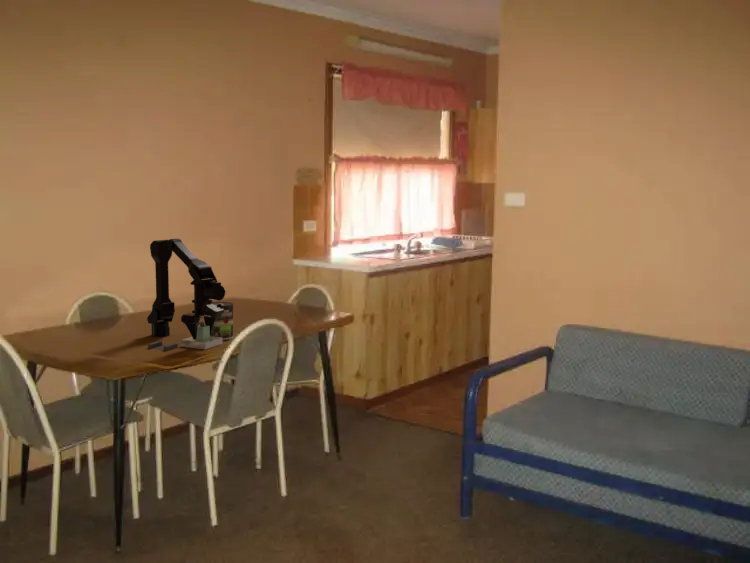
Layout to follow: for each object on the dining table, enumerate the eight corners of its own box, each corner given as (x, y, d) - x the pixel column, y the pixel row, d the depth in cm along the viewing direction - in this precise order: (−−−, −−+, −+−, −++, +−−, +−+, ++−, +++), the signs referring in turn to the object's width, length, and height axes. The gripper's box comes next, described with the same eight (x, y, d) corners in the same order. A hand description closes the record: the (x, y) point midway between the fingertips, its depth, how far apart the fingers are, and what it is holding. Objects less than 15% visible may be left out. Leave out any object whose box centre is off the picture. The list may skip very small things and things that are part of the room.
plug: (194, 346, 314) (194, 322, 313) (201, 344, 318) (201, 320, 316) (203, 348, 312) (203, 323, 311) (209, 346, 316) (209, 322, 314)
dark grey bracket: (148, 350, 308) (148, 344, 308) (158, 347, 314) (158, 341, 313) (167, 353, 305) (167, 346, 304) (177, 350, 310) (177, 343, 310)
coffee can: (237, 338, 332) (237, 304, 330) (214, 341, 326) (214, 306, 324) (226, 333, 340) (226, 300, 338) (203, 336, 334) (203, 302, 332)
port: (181, 348, 312) (181, 339, 312) (199, 343, 322) (199, 334, 322) (205, 352, 308) (205, 343, 307) (222, 346, 318) (222, 337, 317)
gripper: (204, 302, 300) (204, 344, 303) (233, 295, 317) (233, 334, 320) (179, 300, 305) (180, 340, 307) (209, 293, 322) (209, 331, 324)
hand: (202, 337), depth 314 cm, fingers open, 9 cm apart
